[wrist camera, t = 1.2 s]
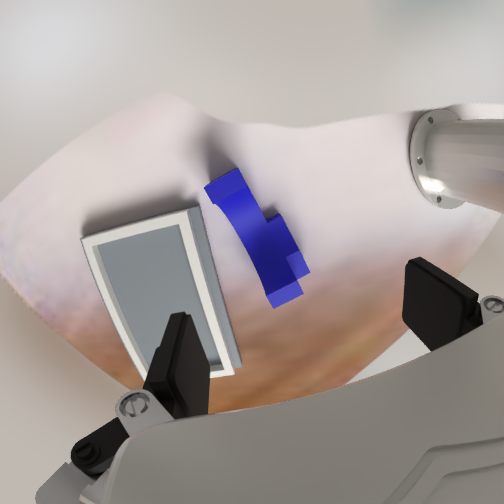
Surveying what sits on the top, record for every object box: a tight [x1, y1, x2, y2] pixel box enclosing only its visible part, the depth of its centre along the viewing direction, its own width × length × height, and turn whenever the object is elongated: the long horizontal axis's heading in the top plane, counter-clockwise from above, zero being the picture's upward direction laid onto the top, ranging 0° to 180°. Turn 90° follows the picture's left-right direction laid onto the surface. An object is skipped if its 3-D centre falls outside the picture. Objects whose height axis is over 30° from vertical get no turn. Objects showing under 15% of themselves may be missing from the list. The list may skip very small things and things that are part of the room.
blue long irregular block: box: [204, 168, 310, 309], centre depth 25 cm, size 12×4×6 cm, turn 28°
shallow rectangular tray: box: [80, 205, 242, 381], centre depth 29 cm, size 14×20×2 cm
